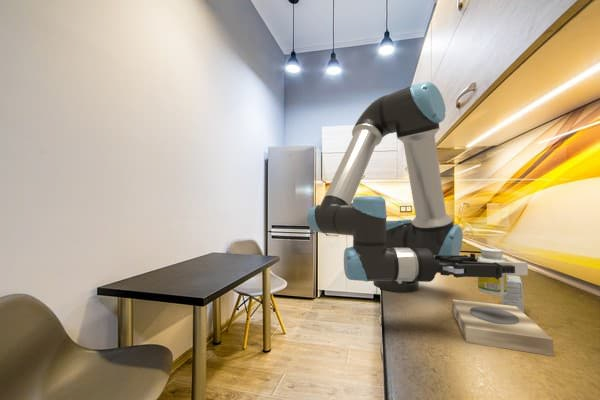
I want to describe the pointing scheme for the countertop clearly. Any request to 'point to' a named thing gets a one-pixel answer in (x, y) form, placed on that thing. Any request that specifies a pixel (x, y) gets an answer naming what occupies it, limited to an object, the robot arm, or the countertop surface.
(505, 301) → the medicine box
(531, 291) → the countertop surface
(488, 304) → the birch board
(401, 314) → the countertop surface
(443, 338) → the countertop surface
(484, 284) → the supplement bottle
